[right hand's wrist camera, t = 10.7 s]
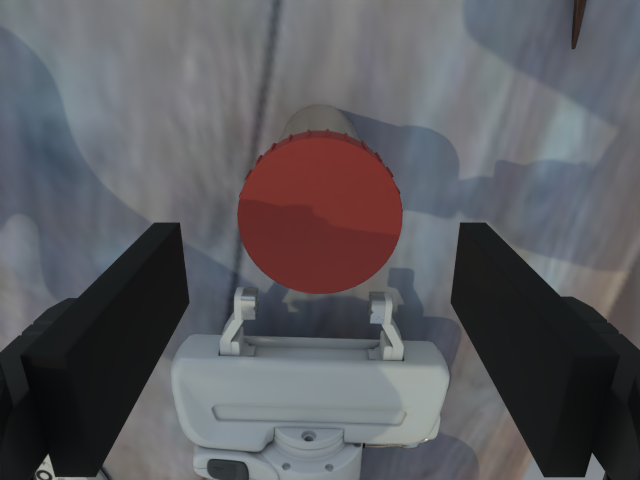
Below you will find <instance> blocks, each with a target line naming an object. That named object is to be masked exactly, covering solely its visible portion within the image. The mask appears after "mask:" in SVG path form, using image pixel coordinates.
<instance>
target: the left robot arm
mask: <svg viewBox="0 0 640 480" xmlns="http://www.w3.org/2000/svg"><path fill="white" fill-rule="evenodd" d="M257 297H258V288H246V287H245V288H244V287H237V290H236V293H235V297H234V312H233V314H232V315H231V317H230V318H229V320H228V321H227V323H226V325H225V327H224V330H223V333H222V335H208V334H192V335H190V336H189V337H188V338H187V339H186V340H185V341H184V342H183V343H182V344H181V346H180V347H179V349H178V351H177V353H176V355H175V357H174V360H173V362H172V366H171V384H172V391H173V397H174V402H175V406H176V411H177V414H178V418H179V421H180V425H181V427H182V429H183V431H184V433H185V434H186V436H187V437H188V438H189V439H190V440H191V441H192V442H194V443H195V450H194V456H193V468H194V471H195V472H196V473H197V474H198V475H200V476H203V477H206V478H209V479H213V480H360V471H361V460H362V448H364V447H365V448H366V447H367V448H386V447H387V448H388V447H402V448H406V449H411V448H417V447H418V446H419V444H420V443H425V442H427V441H429V440H431V439H434V438H435V437H436V436H437V434H438V431H439V425H440V419H441V409H442V406H443V403H444V400H445V396H446V393H447V389H448V385H449V379H450V375H449V370H448V367H447V364H446V361H445V359H444V357H443V355H442V353H441V352H440V351H439V349H438V348H437V347H436V346H435V345H434V343H432V342H429V341H406V340H402V338H401V335H400V332H399V329H398V327H397V326H396V324H395V322H394V320H393V318H392V307H393V303H392V297H391V294H390V292H369V303H368V315H369V320H370V323H371V324H381V325H382V327H383V328H384V330H382V331H381V334H380V340H373V339H340V338H307V337H274V336H244V327H243V326H241V324H242V322H243V321H244V320H255V319H256V315H257V311H258V298H257Z"/></svg>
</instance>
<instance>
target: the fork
mask: <svg viewBox="0 0 640 480" xmlns="http://www.w3.org/2000/svg"><path fill="white" fill-rule="evenodd" d="M586 1H587V0H574V14H573V27H572V49H575V47H576V44H577V40H578V36H579V32H580V27H581V23H582V19H583V14H584V9H585V5H586Z"/></svg>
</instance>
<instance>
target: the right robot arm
mask: <svg viewBox="0 0 640 480" xmlns="http://www.w3.org/2000/svg"><path fill="white" fill-rule="evenodd" d="M451 304H452V306H453V308H454V310H455V312H456V314H457V316H458V318H459V319H460V321H461V323H462V325H463V327H464V329H465V331H466V332H467V334H468V336H469V338H470V340H471V342H472V344H473V345H474V347H475V349H476V351H477V353H478V355H479V357H480V359H481V360H482V362H483V364H484V366H485V368H486V370H487V372H488V373H489V375H490V377H491V379H492V381H493V383H494V385H495V386H496V388H497V390H498V392H499V394H500V396H501V398H502V400H503V401H504V403H505V405H506V407H507V409H508V411H509V413H510V414H511V416H512V418H513V420H514V422H515V424H516V426H517V427H518V429H519V431H520V433H521V435H522V437H523V439H524V440H525V442H526V444H527V446H528V448H529V450H530V452H531V454H532V455H533V457H534V459H535V461H536V463H537V465H538V467H539V468H540V470H541V472H542V474H543V476H544V477H585V475H586V471H587V468H588V464H589V461H590V458H591V454H592V453H593V454H594V456H595V457H596V459H597V460H598V462H599V463H600V464H601V466H602V467H603V469H604V470H605V474H604V477H603V480H640V350H639V349H638V348H637V347H636V346H635V345H633V344H632V343H631V342H630V341H629V340H628V339H627V338H626V337H625V336H623V335H622V334H619V331H618V330H617V329H616V328H615V327H614V326H613V325H611V324H610V323H607V320H606V319H605V318H604V317H603V316H602V315H600V314H599V313H598V312H597V311H596V310H595V309H594V308H593V307H591V306H589V305H587V304H585V303H583V302H581V301H579V300H578V299H576V298H574V297H560V296H559V295H558V294H557V293H556V292H555V291H554V290H553V289H552V288H551V287H550V286H549V285H548V284H547V283H546V282H545V281H544V280H543V279H542V278H541V277H540V276H539V275H538V274H537V273H536V272H535V271H534V270H533V269H532V268H531V267H530V266H529V265H528V264H527V263H526V262H525V261H524V260H523V259H522V258H521V257H520V256H519V255H518V254H517V253H516V252H515V251H514V250H513V249H512V248H511V247H510V246H509V245H508V244H507V243H506V242H505V241H504V240H503V239H502V238H501V237H500V236H499V235H498V234H497V233H496V232H495V231H494V230H493V229H491V228H490V227H489V226H488V225H487V224H486V223H460V228H459V237H458V245H457V253H456V262H455V270H454V278H453V286H452V295H451ZM188 305H189V295H188V286H187V278H186V270H185V262H184V253H183V245H182V237H181V228H180V223H154V224H153V225H152V226H151V227H150V228H149V229H148V230H146V231H145V232H144V233H143V234H142V235H141V236H140V237H139V238H138V239H137V240H136V241H135V242H134V243H133V244H132V245H131V246H130V247H129V248H128V249H127V250H126V251H125V252H124V253H123V254H122V255H121V256H120V257H119V258H118V259H117V260H116V261H115V262H114V263H113V264H112V265H111V266H110V267H109V268H108V269H107V270H106V271H105V272H104V273H103V274H102V275H101V276H100V277H99V278H98V279H97V280H96V281H95V282H94V283H93V284H92V285H91V286H90V287H89V288H88V289H87V290H86V291H85V292H84V293H83V294H82V295H81V296H80V297H78V298H68V299H66V300H64V301H62V302H60V303H58V304H56V305H54V306H53V307H51V308H49V309H47V310H46V311H45V312H44V313H43V314H42V315H41V316H40V317H38V318H37V319H36V320H35V321H34V324H33V325H30V326H29V327H28V328H26V329H25V330H24V331H23V332H22V335H21V336H18V337H17V338H16V339H14V340H13V341H12V342H11V343H10V344H9V345H8V346H7V347H6V348H5V349H4V350H2V351H1V352H0V480H37V477H36V474H35V473H36V471H37V470H38V468H39V467H40V465H41V464H42V463H43V461H44V460H45V458H46V457H47V455H48V454H49V458H50V461H51V464H52V468H53V471H54V475H55V477H96V476H97V474H98V472H99V470H100V468H101V467H102V465H103V463H104V461H105V459H106V457H107V455H108V454H109V452H110V450H111V448H112V446H113V444H114V442H115V440H116V439H117V437H118V435H119V433H120V431H121V429H122V427H123V426H124V424H125V422H126V420H127V418H128V416H129V414H130V413H131V411H132V409H133V407H134V405H135V403H136V401H137V400H138V398H139V396H140V394H141V392H142V390H143V388H144V386H145V385H146V383H147V381H148V379H149V377H150V375H151V373H152V372H153V370H154V368H155V366H156V364H157V362H158V360H159V359H160V357H161V355H162V353H163V351H164V349H165V347H166V345H167V344H168V342H169V340H170V338H171V336H172V334H173V332H174V331H175V329H176V327H177V325H178V323H179V321H180V319H181V318H182V316H183V314H184V312H185V310H186V308H187V306H188Z"/></svg>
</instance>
